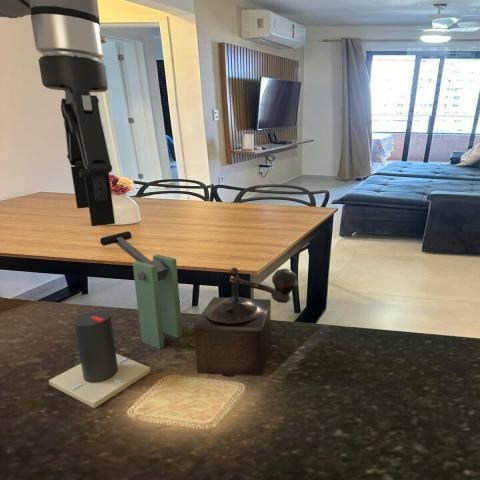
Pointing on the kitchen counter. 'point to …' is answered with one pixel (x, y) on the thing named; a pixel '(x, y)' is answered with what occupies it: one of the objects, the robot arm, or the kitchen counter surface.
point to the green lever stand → (157, 301)
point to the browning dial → (96, 346)
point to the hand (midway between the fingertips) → (94, 215)
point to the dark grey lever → (134, 251)
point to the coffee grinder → (239, 328)
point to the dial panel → (99, 391)
